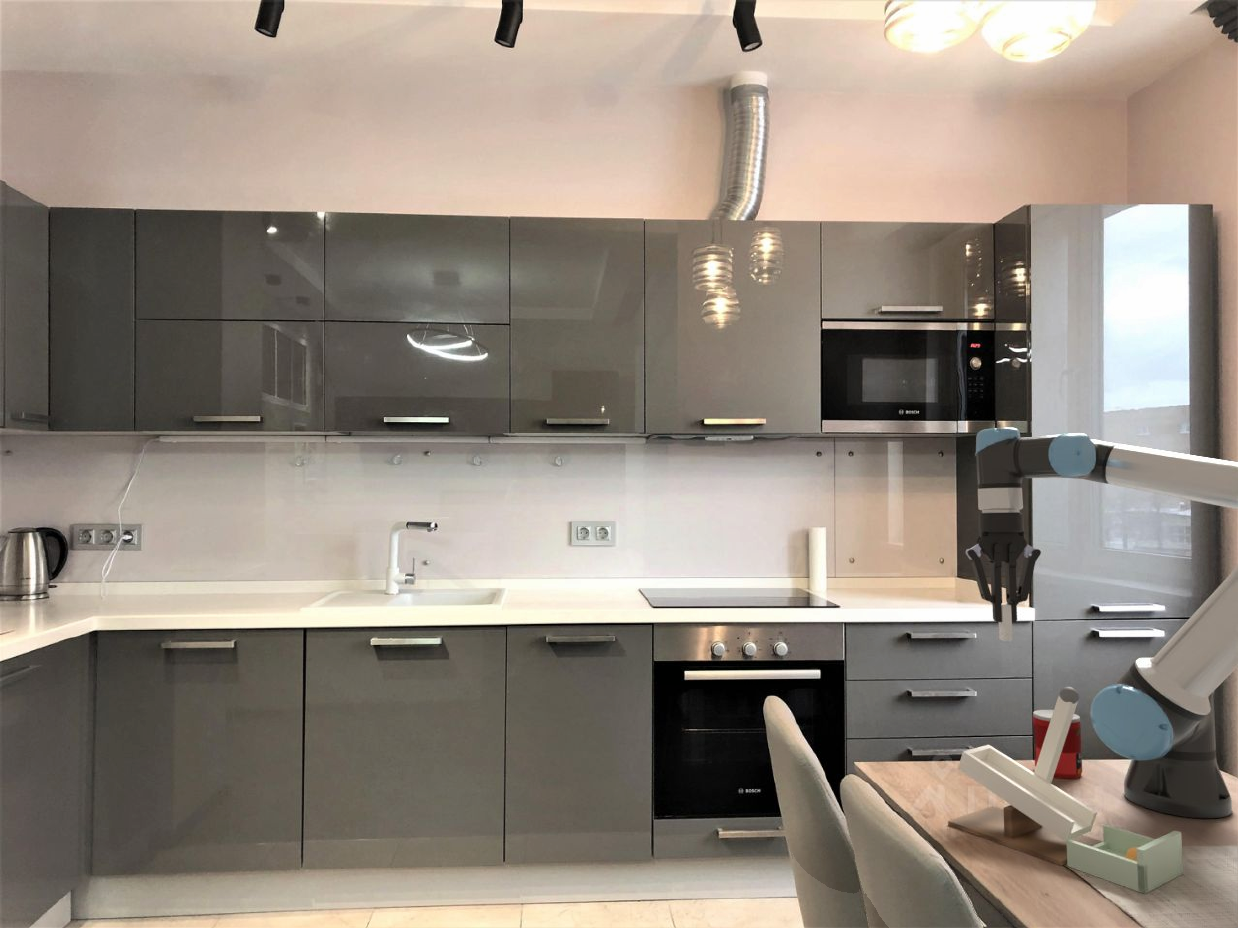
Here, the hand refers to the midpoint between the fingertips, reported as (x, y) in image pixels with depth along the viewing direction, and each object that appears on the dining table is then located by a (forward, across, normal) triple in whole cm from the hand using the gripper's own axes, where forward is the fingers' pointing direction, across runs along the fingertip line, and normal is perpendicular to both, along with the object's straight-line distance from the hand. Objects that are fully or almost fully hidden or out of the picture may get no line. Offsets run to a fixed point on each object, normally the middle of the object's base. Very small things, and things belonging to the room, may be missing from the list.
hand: (1005, 639), depth 148 cm
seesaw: (+21, +5, +22) cm, 31 cm away
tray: (+26, -4, +34) cm, 43 cm away
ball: (+25, -6, +36) cm, 44 cm away
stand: (+26, +6, +23) cm, 36 cm away
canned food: (+27, -11, -9) cm, 30 cm away
